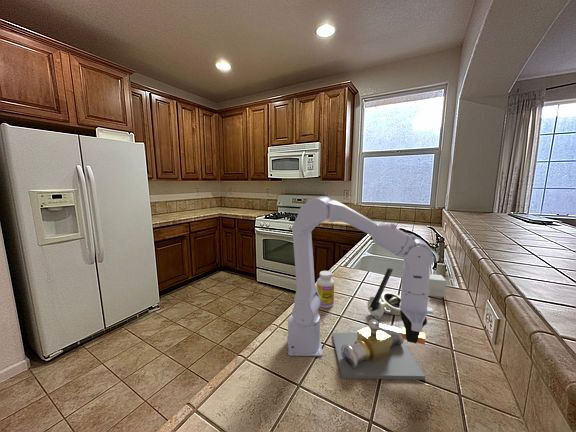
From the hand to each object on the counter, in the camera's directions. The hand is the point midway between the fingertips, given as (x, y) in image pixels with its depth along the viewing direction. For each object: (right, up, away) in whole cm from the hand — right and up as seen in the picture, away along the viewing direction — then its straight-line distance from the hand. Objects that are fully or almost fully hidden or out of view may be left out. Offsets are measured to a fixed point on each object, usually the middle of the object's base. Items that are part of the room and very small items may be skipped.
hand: (411, 341), depth 58 cm
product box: (+31, -2, +41) cm, 52 cm away
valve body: (-7, -8, +7) cm, 13 cm away
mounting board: (-7, -8, +7) cm, 13 cm away
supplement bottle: (-16, -4, +34) cm, 38 cm away
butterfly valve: (+6, -4, +28) cm, 29 cm away
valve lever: (-3, 0, +3) cm, 4 cm away
